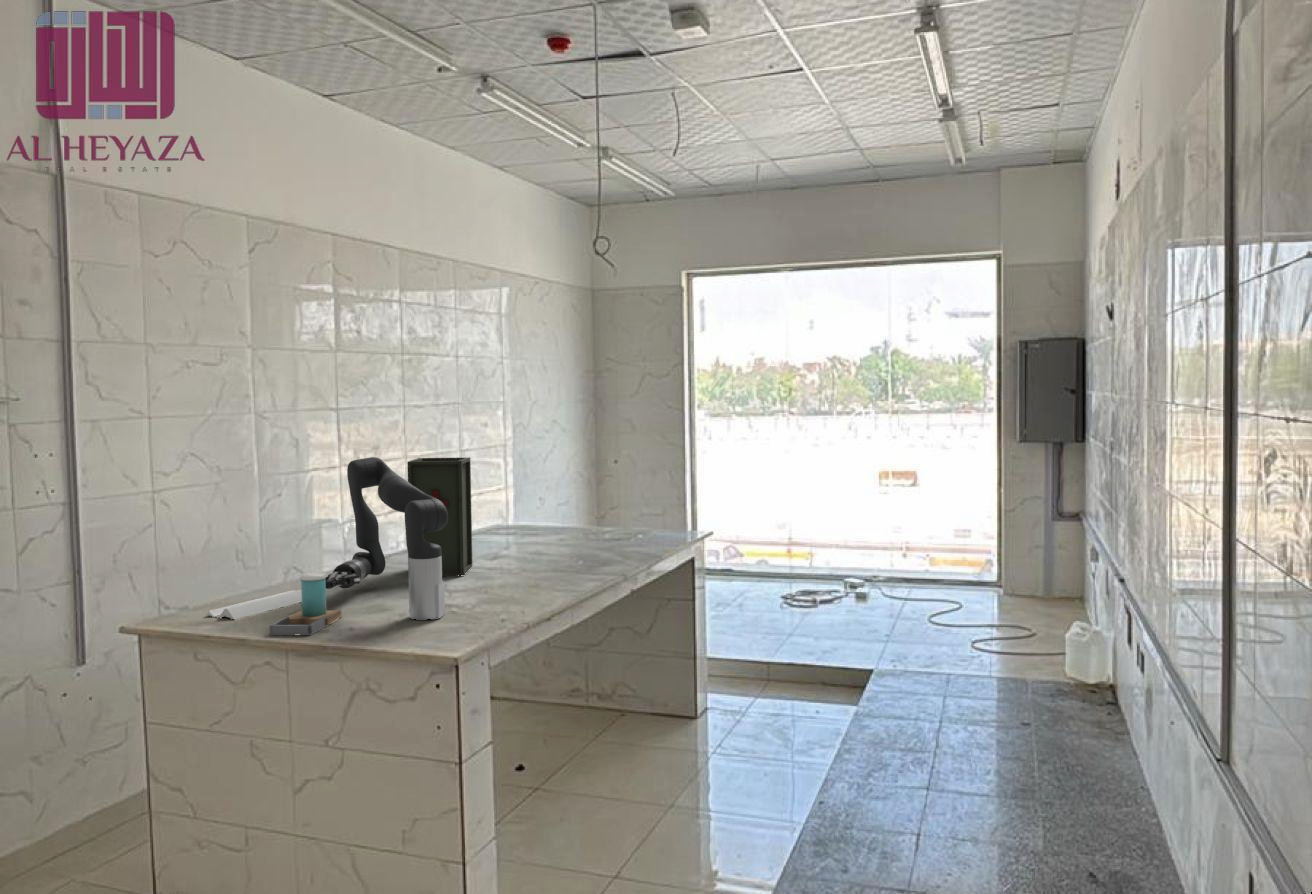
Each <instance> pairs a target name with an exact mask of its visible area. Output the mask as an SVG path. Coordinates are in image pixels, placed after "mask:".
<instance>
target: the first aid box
mask: <svg viewBox="0 0 1312 894" xmlns="http://www.w3.org/2000/svg"><path fill="white" fill-rule="evenodd" d="M471 465H472V464H471V457H417V458H415V459H412V460H409V461H407V481H408V482H409V483H410V484H411V485H413V486H414V487H416V488H417V489H419V490H420V491H422V492H424V493H425V494H427V495H429V496H432V497H434V498H436V499H438V500H440V501H441V502H442V503H443V504H444V506H445V507H446V509H447V512H448V522H447V524H446V526H445V527H444V528H443V529H441V530H439V531H435V532H426V533H423V536H424V539H425V540H426V541H427V542H429V543H433V544H437V545H439V546H440V547H441V551H442V555H441V556H442V576H454V577H462V576H461V575H465V576H466V574H467V573H468V572H469V571H470V570H471V569H472V568H473V567H472V566H473V528H472V527H473V526H472V524H473V522H472V519H473V518H472V476H471V475H472V474H471V469H472V468H471ZM471 567H472V568H471ZM470 568H471V569H470ZM469 569H470V570H469ZM468 570H469V571H468ZM467 571H468V572H467ZM466 572H467V573H466ZM465 573H466V574H465ZM458 575H459V576H458Z"/></svg>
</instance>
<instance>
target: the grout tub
mask: <svg viewBox="0 0 1312 894" xmlns="http://www.w3.org/2000/svg"><path fill="white" fill-rule="evenodd" d="M326 577H327V573H325V572H308V573H303V574H300V575H299V579H300V586H301V589H300V590H301V595H302V603H301V611H302V615H303V616H308V617H311V616H320V615H324V614H326V611H327V589H326V579H325V578H326Z"/></svg>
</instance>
